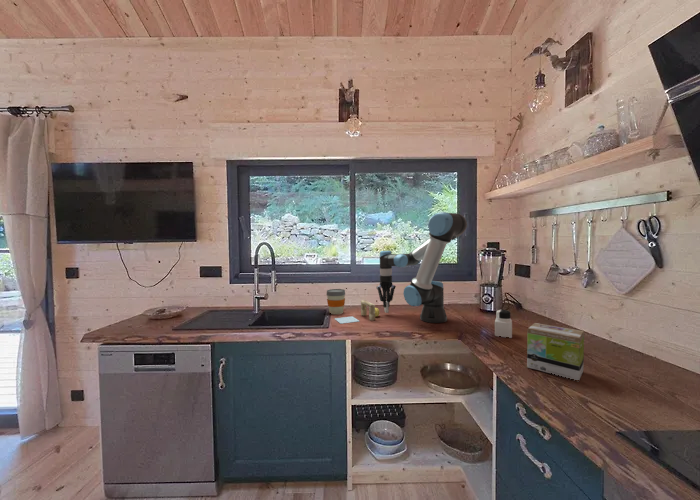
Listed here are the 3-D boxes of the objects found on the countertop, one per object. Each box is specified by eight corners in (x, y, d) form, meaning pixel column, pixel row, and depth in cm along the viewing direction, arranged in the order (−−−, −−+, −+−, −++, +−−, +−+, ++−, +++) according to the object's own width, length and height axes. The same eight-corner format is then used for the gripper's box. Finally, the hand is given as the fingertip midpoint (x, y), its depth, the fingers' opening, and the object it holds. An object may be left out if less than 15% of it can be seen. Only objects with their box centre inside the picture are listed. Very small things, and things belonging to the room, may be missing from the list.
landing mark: (359, 321, 168) (359, 321, 168) (340, 323, 164) (340, 323, 164) (352, 316, 180) (352, 316, 180) (334, 318, 175) (334, 318, 175)
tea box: (526, 368, 102) (526, 327, 102) (533, 360, 109) (533, 321, 109) (580, 382, 92) (580, 336, 91) (584, 372, 99) (584, 329, 98)
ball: (371, 312, 175) (375, 319, 176) (378, 307, 176) (382, 314, 178) (367, 310, 180) (371, 316, 181) (374, 305, 181) (378, 311, 183)
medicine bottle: (512, 334, 140) (511, 309, 140) (511, 338, 134) (511, 313, 134) (495, 332, 144) (495, 308, 143) (494, 336, 138) (494, 311, 137)
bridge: (365, 314, 184) (365, 300, 184) (375, 320, 170) (374, 304, 170) (361, 315, 183) (360, 300, 183) (370, 320, 169) (370, 305, 169)
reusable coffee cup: (323, 313, 189) (322, 290, 189) (335, 309, 199) (334, 288, 199) (337, 316, 182) (337, 292, 181) (349, 312, 192) (349, 289, 191)
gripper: (392, 274, 187) (392, 309, 187) (374, 275, 182) (374, 311, 183) (397, 275, 180) (398, 312, 180) (379, 276, 175) (379, 314, 176)
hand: (386, 312), depth 181 cm, fingers closed
